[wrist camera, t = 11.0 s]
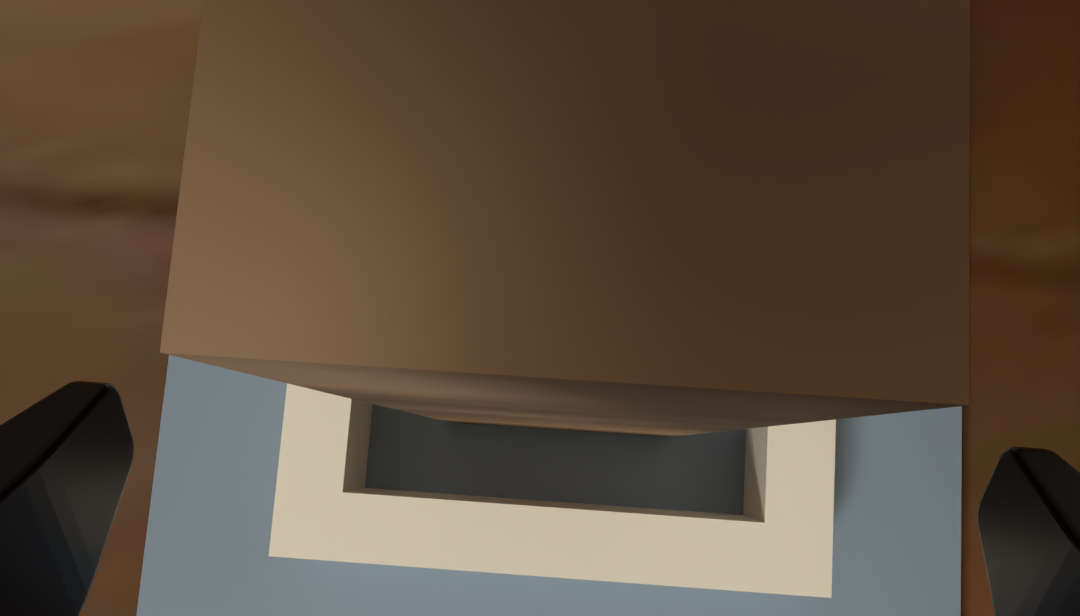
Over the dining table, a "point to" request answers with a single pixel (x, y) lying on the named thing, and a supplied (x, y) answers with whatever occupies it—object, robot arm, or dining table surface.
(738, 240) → the walnut pillar
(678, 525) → the socket
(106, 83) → the dining table surface
